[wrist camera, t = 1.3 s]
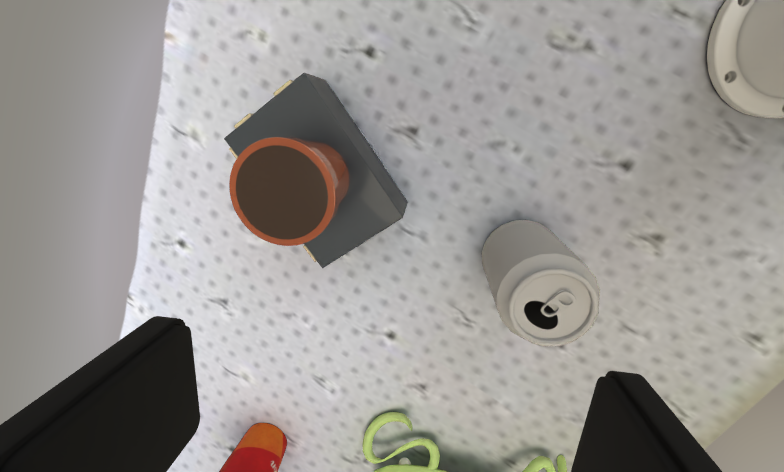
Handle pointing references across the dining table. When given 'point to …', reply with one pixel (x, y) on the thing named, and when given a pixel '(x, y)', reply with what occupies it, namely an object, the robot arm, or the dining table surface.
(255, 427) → the paper cup
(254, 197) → the terracotta pot
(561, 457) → the figurine
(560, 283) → the can
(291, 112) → the dark grey striped block
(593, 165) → the dining table surface
